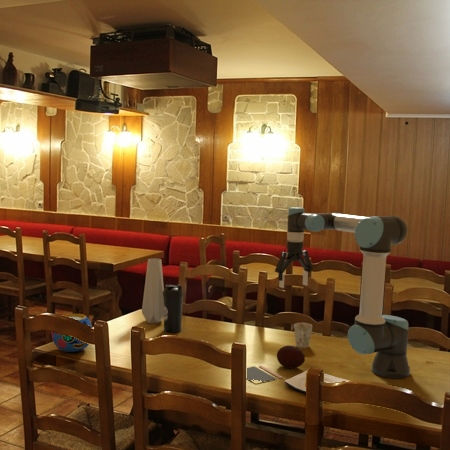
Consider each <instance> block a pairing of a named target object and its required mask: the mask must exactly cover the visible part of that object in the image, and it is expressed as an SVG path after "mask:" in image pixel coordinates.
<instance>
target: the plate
mask: <svg viewBox="0 0 450 450" xmlns="http://www.w3.org/2000/svg"><path fill="white" fill-rule="evenodd" d="M306 373H307V370H305V371H303V372H301V373H299V374H296V375H295V376H292V377H290V378H287V379H285V380H284V383H285V384H286V385H287V386H289V387H291V388H293V390H294V389H295V390H296V391H298V392H302V393H304V394H307V393H306V387H305V381H306ZM323 373H324V372H323ZM347 380H348V379H345V378H341V377H337V376H333V375H331V374H327V373H326V372H325V373H324V382H326V383H335V382H342V381H347Z"/></svg>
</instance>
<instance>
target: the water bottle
mask: <svg viewBox="0 0 450 450" xmlns="http://www.w3.org/2000/svg"><path fill="white" fill-rule="evenodd" d="M184 293H185V292H184V290H183V287H182V285H181V284H179V283H178V284H176V285H174V284H165V287H164V291H163V297H164V317H163V332H165V333H167V334H177V333H180V332H182V319H183V317H182V316H183V297H184Z"/></svg>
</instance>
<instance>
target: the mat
mask: <svg viewBox="0 0 450 450" xmlns="http://www.w3.org/2000/svg"><path fill="white" fill-rule="evenodd" d="M246 368H247V379H249V380H253V379H254V380H258V381H260V380H261V381H262V382H263V383H265V382H264V381H268V382H271V381H270V380H273V381H276V380H277V377H275V376H274V375H273V376H272V374H270V373H269V374H268V372H267V371H265V370H264V371H263V369H261V368H259V367H256V366H250V367H246ZM247 379H246V380H247ZM275 379H276V380H275ZM249 380H248V381H249ZM254 380H253V381H254Z"/></svg>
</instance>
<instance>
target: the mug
mask: <svg viewBox="0 0 450 450" xmlns="http://www.w3.org/2000/svg"><path fill="white" fill-rule="evenodd" d="M293 326H294V327H293V330H294V339H295V347H297V348H299V349H308V348H309V347H310V343H311V337H312V331H313V324H311V323H308V322H296V323H294V325H293Z"/></svg>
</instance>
